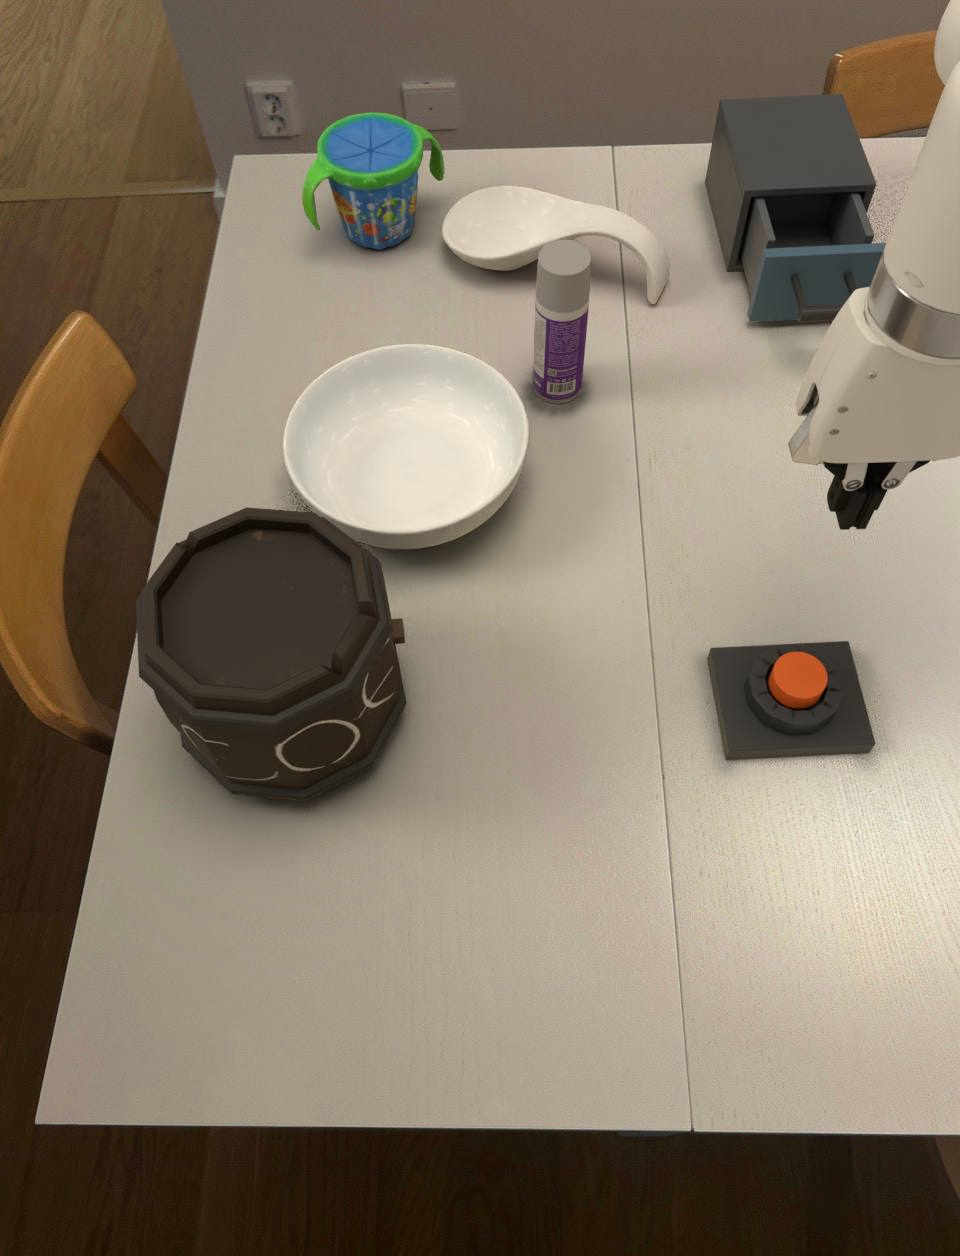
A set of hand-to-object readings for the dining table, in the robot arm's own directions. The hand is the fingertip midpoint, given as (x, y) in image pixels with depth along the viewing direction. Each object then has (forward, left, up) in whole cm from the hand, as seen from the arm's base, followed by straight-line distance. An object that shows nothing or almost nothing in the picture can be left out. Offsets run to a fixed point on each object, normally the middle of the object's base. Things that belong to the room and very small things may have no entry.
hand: (847, 512), depth 71 cm
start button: (+1, +5, -15) cm, 16 cm away
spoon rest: (+15, -47, -18) cm, 52 cm away
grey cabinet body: (-9, -52, -18) cm, 55 cm away
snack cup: (+33, -54, -18) cm, 66 cm away
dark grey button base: (+1, +5, -18) cm, 18 cm away
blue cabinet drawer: (-9, -40, -17) cm, 44 cm away
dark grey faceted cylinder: (+39, +3, -18) cm, 43 cm away
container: (+16, -30, -18) cm, 38 cm away
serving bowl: (+30, -19, -18) cm, 40 cm away
